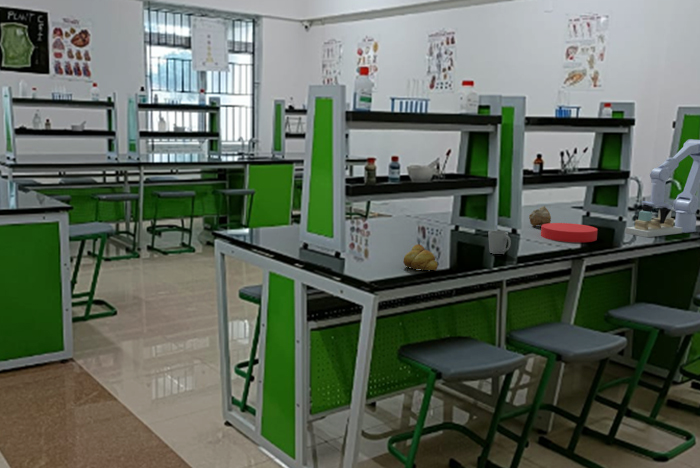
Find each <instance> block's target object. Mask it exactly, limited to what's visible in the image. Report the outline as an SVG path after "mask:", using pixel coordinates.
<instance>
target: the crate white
mask: <svg viewBox="0 0 700 468" xmlns="http://www.w3.org/2000/svg"><path fill="white" fill-rule="evenodd" d="M657 218H660V209H658V214H657ZM671 218H672V209H671V211H670V212H669V214H668V215H667V217H666V219H671Z"/></svg>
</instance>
